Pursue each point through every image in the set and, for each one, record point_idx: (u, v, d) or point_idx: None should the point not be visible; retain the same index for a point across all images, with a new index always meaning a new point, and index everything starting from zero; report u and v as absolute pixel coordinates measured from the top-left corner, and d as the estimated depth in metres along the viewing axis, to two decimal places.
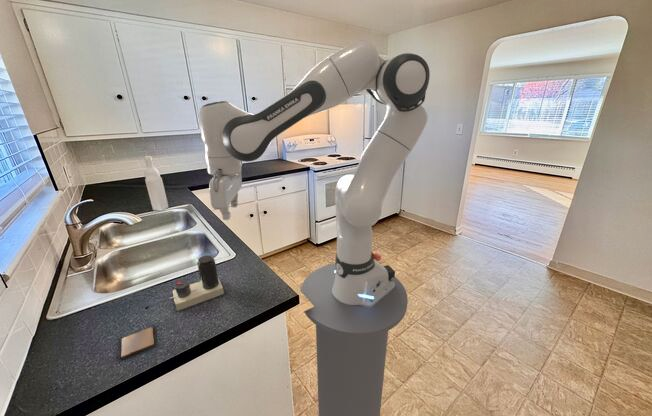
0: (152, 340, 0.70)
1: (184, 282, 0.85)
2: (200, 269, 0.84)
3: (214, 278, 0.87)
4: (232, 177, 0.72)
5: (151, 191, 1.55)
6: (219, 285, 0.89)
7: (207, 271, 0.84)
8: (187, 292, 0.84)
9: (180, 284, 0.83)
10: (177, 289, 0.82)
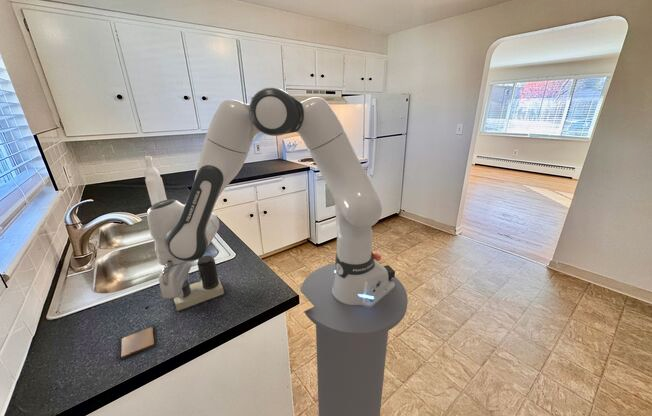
0: (152, 340, 0.70)
1: (184, 282, 0.85)
2: (200, 269, 0.84)
3: (214, 278, 0.87)
4: (182, 264, 0.79)
5: (151, 191, 1.55)
6: (219, 285, 0.89)
7: (207, 271, 0.84)
8: (187, 292, 0.84)
9: None
10: None
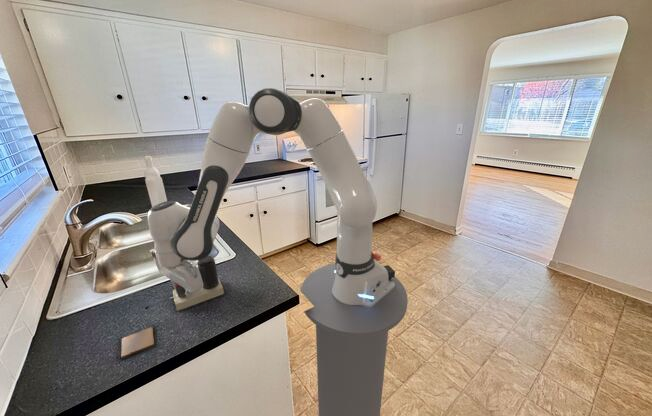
0: (152, 340, 0.70)
1: None
2: (200, 269, 0.84)
3: (214, 278, 0.87)
4: None
5: (151, 191, 1.55)
6: (219, 285, 0.89)
7: (207, 271, 0.84)
8: None
9: None
10: (182, 289, 0.82)
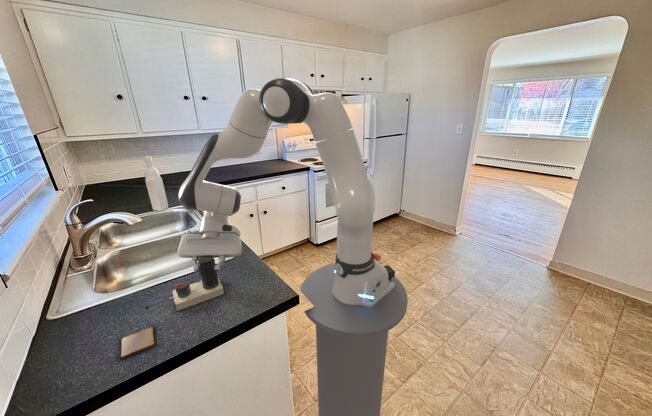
0: (152, 340, 0.70)
1: (181, 282, 0.84)
2: (200, 269, 0.84)
3: (214, 278, 0.87)
4: (203, 236, 0.89)
5: (151, 191, 1.55)
6: (219, 285, 0.89)
7: (207, 271, 0.84)
8: (190, 289, 0.85)
9: (180, 284, 0.83)
10: (182, 289, 0.82)
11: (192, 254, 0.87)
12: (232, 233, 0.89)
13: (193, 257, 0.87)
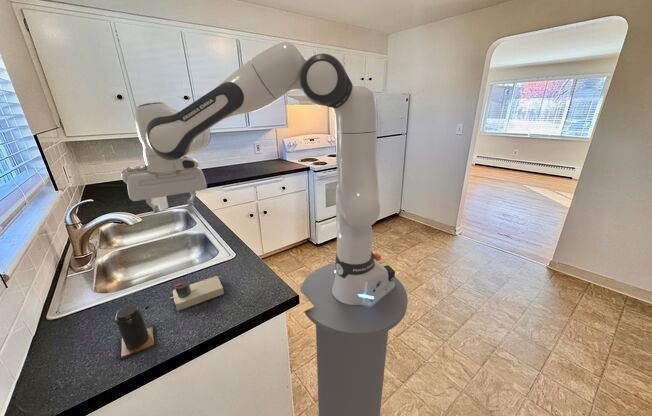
0: (152, 340, 0.70)
1: (181, 282, 0.84)
2: (118, 325, 0.66)
3: (139, 335, 0.68)
4: (158, 176, 0.75)
5: None
6: (219, 285, 0.89)
7: (128, 327, 0.66)
8: (190, 289, 0.85)
9: (180, 284, 0.83)
10: (182, 289, 0.82)
11: (152, 197, 0.76)
12: (195, 169, 0.79)
13: (147, 200, 0.76)
